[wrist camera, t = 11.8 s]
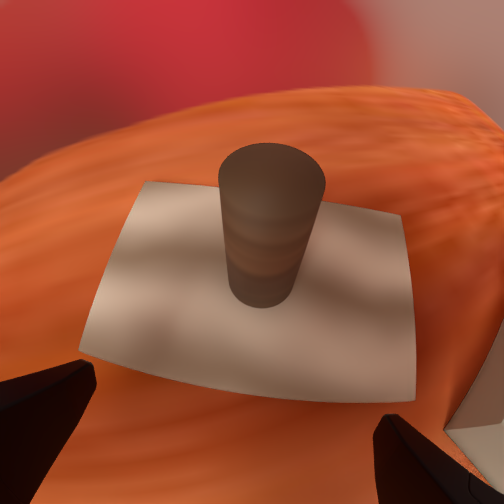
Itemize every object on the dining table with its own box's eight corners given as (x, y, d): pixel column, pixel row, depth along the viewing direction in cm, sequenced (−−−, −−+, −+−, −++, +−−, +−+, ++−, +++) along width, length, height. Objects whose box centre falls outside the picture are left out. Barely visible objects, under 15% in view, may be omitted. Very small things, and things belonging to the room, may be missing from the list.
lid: (404, 402, 13) (519, 371, 6) (88, 355, 14) (-15, 293, 7) (394, 225, 20) (447, 132, 12) (149, 192, 21) (118, 91, 13)
